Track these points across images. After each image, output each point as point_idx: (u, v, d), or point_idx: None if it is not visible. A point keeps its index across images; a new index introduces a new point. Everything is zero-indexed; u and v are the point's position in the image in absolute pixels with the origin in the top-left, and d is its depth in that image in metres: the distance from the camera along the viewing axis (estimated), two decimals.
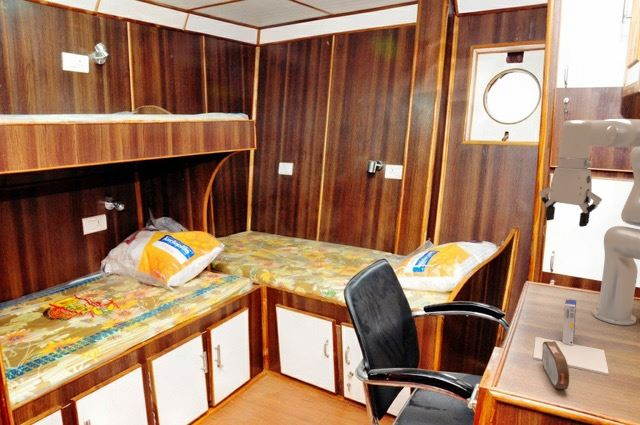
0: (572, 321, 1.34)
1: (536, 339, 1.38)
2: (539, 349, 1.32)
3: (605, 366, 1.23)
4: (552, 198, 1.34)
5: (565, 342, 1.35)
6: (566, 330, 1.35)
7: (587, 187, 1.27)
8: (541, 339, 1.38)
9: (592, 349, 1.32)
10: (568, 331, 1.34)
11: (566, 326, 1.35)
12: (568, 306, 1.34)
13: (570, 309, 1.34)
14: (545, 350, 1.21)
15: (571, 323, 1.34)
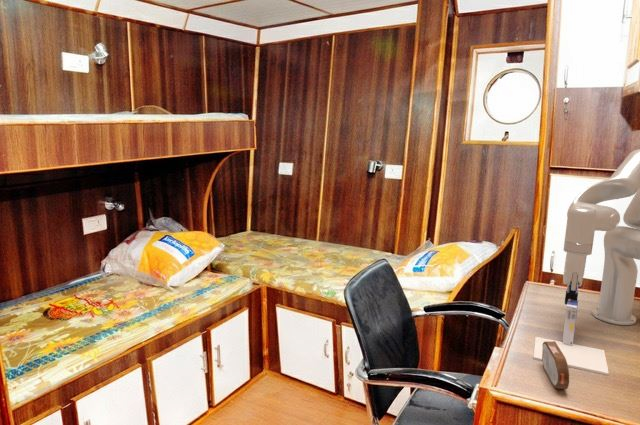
0: (573, 322, 1.33)
1: (536, 339, 1.38)
2: (539, 349, 1.32)
3: (605, 366, 1.23)
4: (581, 284, 1.36)
5: (565, 342, 1.35)
6: (567, 331, 1.34)
7: None
8: (541, 339, 1.38)
9: (592, 349, 1.32)
10: (569, 332, 1.34)
11: (567, 327, 1.34)
12: (570, 307, 1.33)
13: (572, 310, 1.33)
14: (545, 350, 1.21)
15: (572, 324, 1.33)
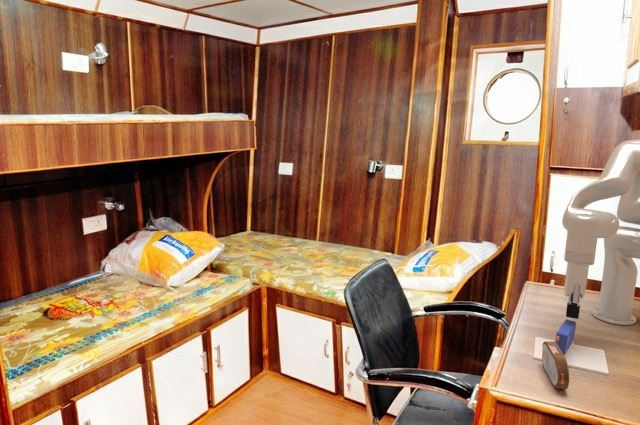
0: None
1: (536, 339, 1.38)
2: (539, 349, 1.32)
3: (605, 366, 1.23)
4: (583, 296, 1.28)
5: None
6: None
7: None
8: (541, 339, 1.38)
9: (592, 349, 1.32)
10: None
11: None
12: None
13: None
14: (545, 350, 1.21)
15: None
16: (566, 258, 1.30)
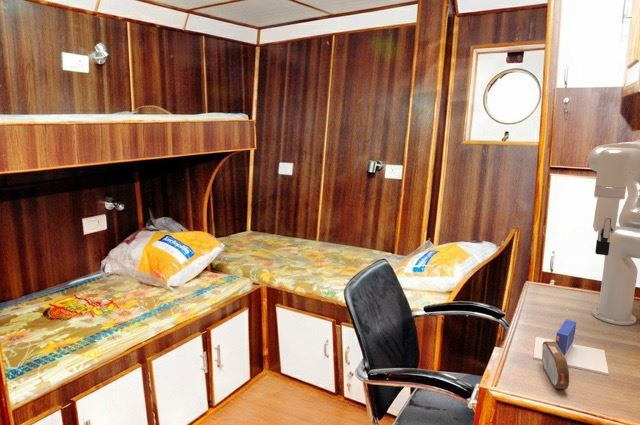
0: None
1: (536, 339, 1.38)
2: (539, 349, 1.32)
3: (605, 366, 1.23)
4: (614, 230, 1.29)
5: None
6: None
7: None
8: (541, 339, 1.38)
9: (592, 349, 1.32)
10: None
11: None
12: None
13: None
14: (545, 350, 1.21)
15: None
16: (596, 194, 1.31)
